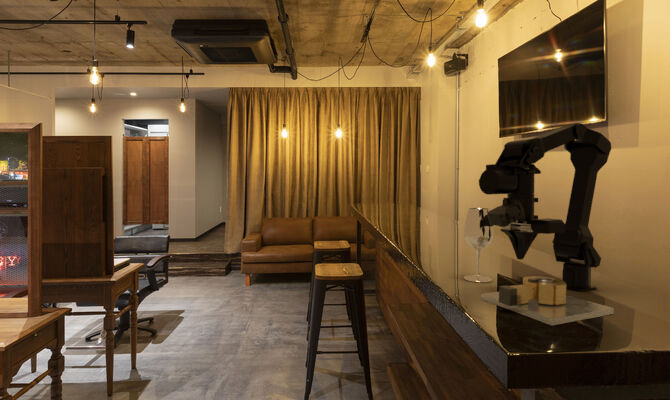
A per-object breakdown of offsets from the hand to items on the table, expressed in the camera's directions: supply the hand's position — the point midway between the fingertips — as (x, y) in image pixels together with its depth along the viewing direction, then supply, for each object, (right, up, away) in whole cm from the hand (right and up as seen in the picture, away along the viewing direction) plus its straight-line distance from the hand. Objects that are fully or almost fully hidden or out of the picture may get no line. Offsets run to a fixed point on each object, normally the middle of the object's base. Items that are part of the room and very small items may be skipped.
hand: (520, 259), depth 90 cm
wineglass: (-4, -9, +17) cm, 19 cm away
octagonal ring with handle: (-2, -8, -9) cm, 12 cm away
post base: (+2, -9, -7) cm, 12 cm away
